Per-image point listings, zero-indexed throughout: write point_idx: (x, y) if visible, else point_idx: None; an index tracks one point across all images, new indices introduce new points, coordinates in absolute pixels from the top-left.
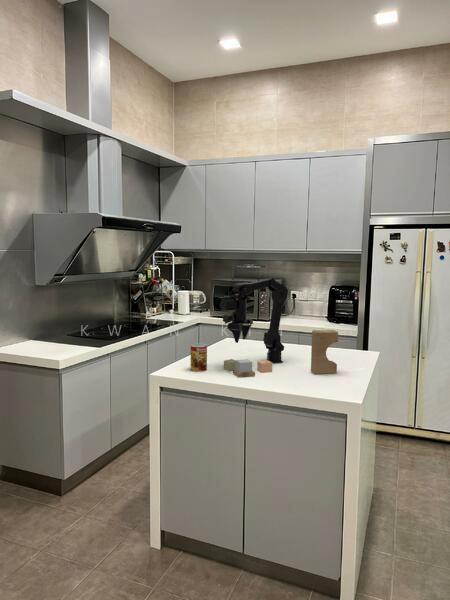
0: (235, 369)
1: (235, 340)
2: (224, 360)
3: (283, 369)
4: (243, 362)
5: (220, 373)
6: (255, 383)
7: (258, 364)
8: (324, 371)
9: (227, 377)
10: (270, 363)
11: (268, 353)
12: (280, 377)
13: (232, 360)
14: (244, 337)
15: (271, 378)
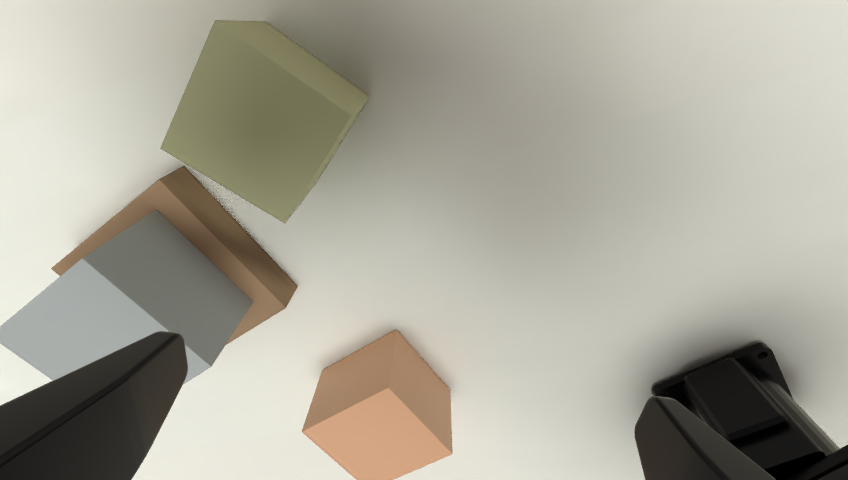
0: (154, 210)
1: (96, 375)
2: (216, 31)
3: (475, 470)
4: (35, 361)
5: (91, 44)
6: (40, 381)
7: (367, 379)
8: None
9: (19, 161)
10: (357, 477)
11: (741, 428)
12: (268, 476)
13: (279, 144)
14: (658, 465)
15: (215, 440)
